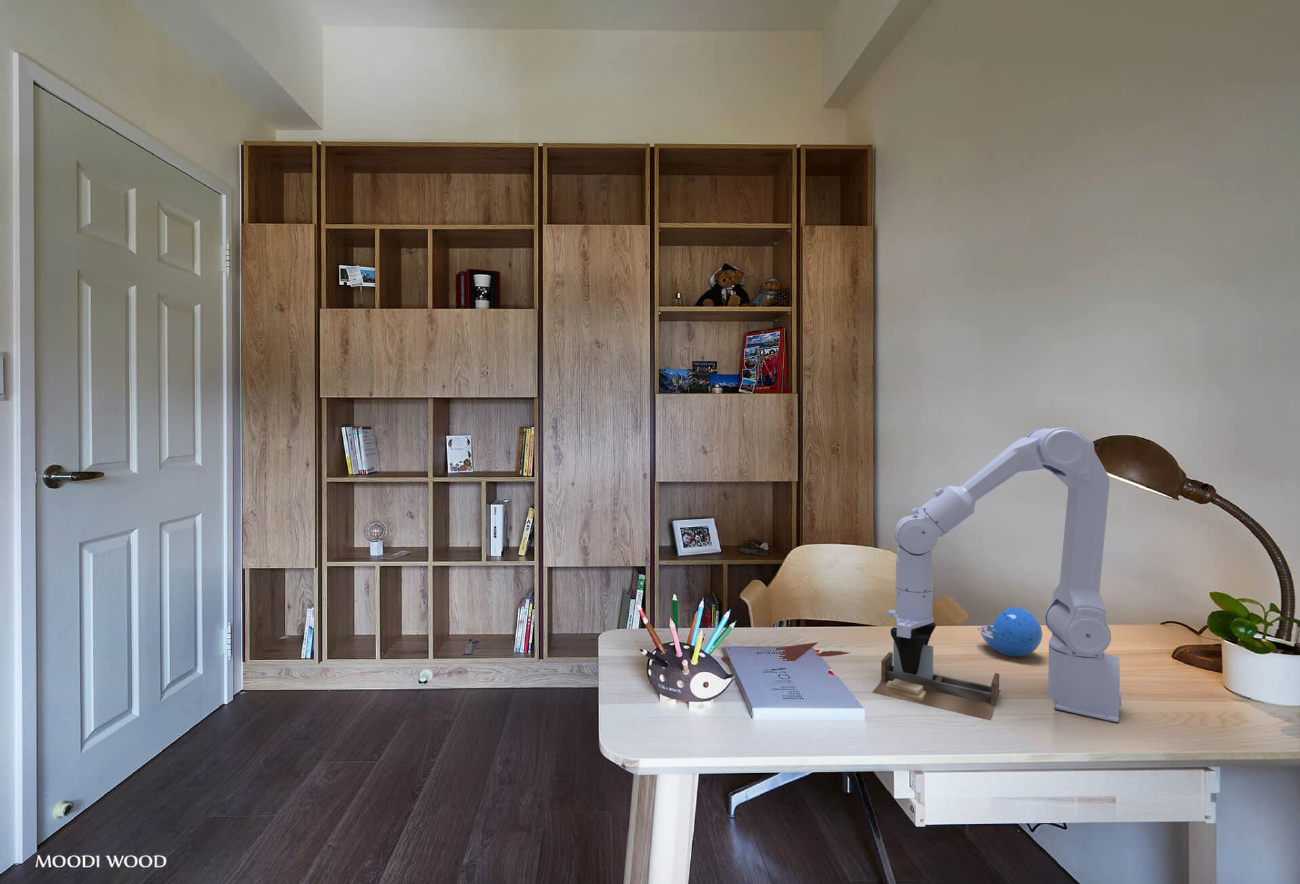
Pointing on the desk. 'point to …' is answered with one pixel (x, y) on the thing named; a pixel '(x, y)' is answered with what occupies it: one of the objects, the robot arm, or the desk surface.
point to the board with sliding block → (945, 692)
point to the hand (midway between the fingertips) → (913, 668)
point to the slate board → (924, 665)
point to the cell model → (1013, 632)
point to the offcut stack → (905, 689)
